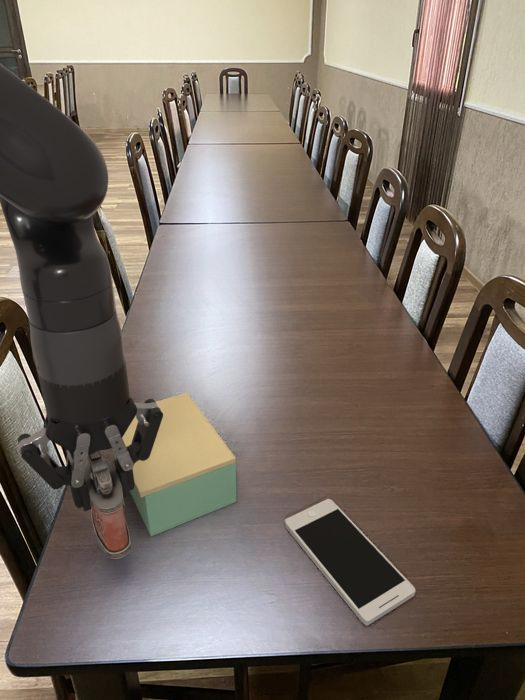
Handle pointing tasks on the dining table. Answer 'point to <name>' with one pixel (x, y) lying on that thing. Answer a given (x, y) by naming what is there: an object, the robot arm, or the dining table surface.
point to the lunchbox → (187, 499)
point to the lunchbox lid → (179, 447)
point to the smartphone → (350, 561)
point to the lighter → (107, 506)
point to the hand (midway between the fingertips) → (105, 497)
